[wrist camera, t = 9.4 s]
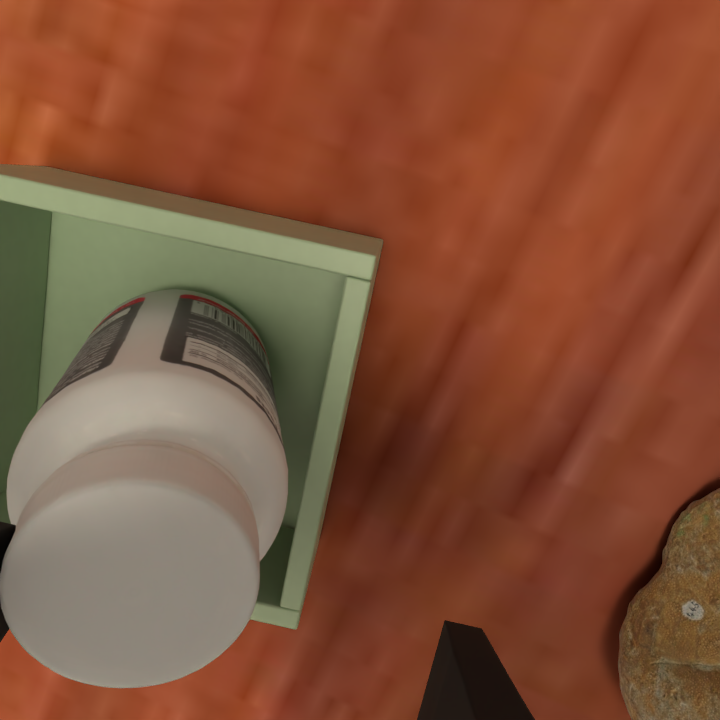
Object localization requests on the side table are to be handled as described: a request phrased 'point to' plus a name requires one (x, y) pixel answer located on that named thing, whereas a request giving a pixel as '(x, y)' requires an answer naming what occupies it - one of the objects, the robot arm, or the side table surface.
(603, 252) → the side table surface
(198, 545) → the pill bottle
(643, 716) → the fossil
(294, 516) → the box
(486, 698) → the robot arm
